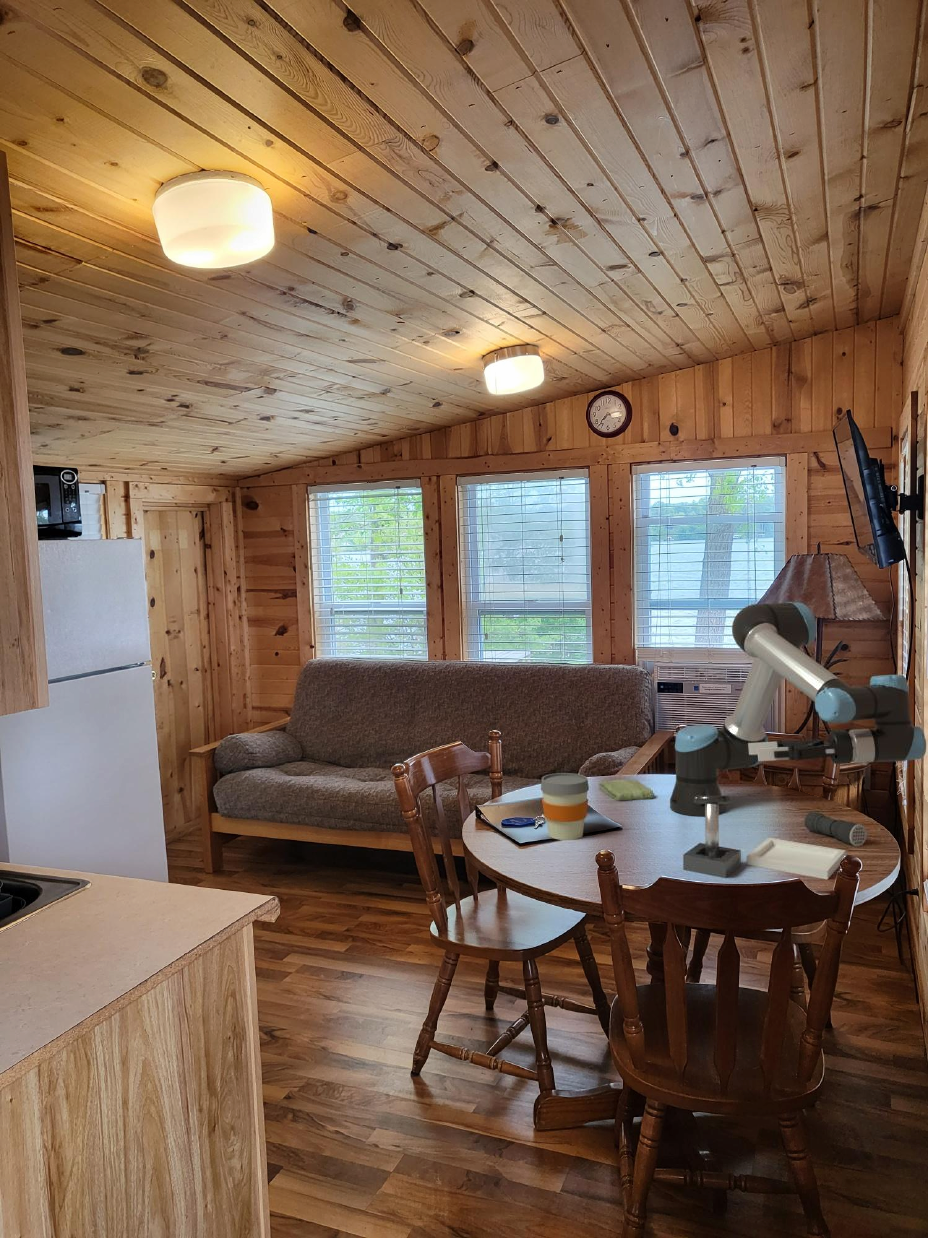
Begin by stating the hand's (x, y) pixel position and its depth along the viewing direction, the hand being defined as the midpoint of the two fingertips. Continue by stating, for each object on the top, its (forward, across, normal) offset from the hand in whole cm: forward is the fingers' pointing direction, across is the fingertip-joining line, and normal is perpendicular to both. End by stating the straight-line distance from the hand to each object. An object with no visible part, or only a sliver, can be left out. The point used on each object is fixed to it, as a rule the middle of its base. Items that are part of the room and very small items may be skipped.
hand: (753, 751), depth 202 cm
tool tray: (-8, +6, -27) cm, 29 cm away
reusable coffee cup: (+46, +22, -22) cm, 55 cm away
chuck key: (+11, 0, -25) cm, 28 cm away
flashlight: (-21, +25, -26) cm, 42 cm away
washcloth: (+30, +64, -18) cm, 73 cm away
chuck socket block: (+11, 0, -26) cm, 28 cm away
